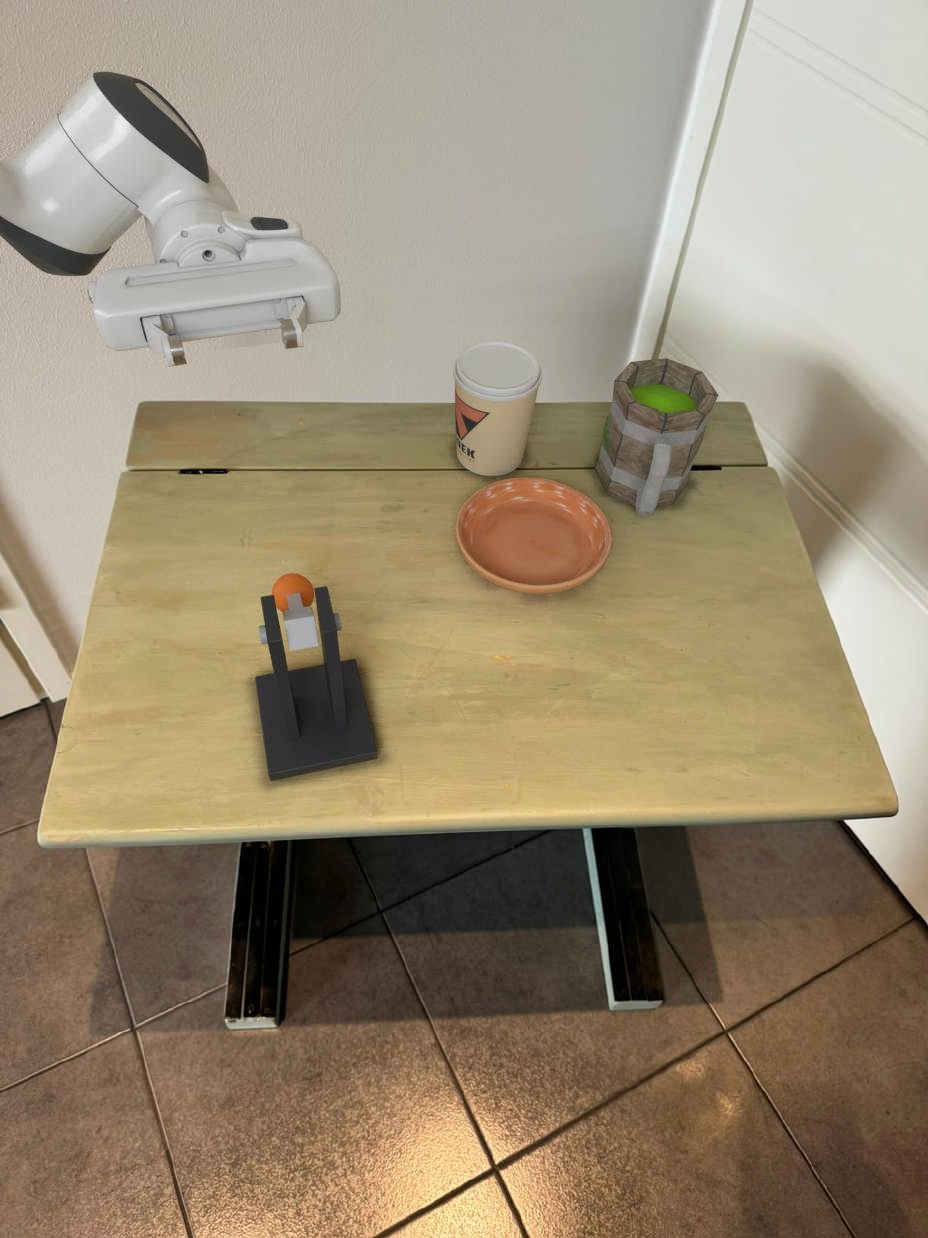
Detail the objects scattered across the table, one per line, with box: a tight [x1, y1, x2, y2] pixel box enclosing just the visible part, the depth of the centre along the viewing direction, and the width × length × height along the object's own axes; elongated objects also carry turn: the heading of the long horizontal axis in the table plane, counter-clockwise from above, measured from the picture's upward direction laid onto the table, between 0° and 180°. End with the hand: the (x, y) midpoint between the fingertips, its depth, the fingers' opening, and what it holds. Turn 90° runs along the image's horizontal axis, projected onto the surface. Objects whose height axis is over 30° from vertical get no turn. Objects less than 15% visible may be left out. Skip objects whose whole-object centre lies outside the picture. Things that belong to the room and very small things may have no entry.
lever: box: [271, 572, 320, 652], centre depth 67 cm, size 13×4×4 cm
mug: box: [593, 357, 719, 518], centre depth 89 cm, size 16×11×12 cm
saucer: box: [455, 476, 613, 595], centre depth 86 cm, size 16×16×3 cm
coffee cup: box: [452, 340, 543, 477], centre depth 92 cm, size 9×9×12 cm
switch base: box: [254, 585, 378, 782], centre depth 67 cm, size 10×9×15 cm
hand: (236, 349), depth 67 cm, fingers open, 8 cm apart
